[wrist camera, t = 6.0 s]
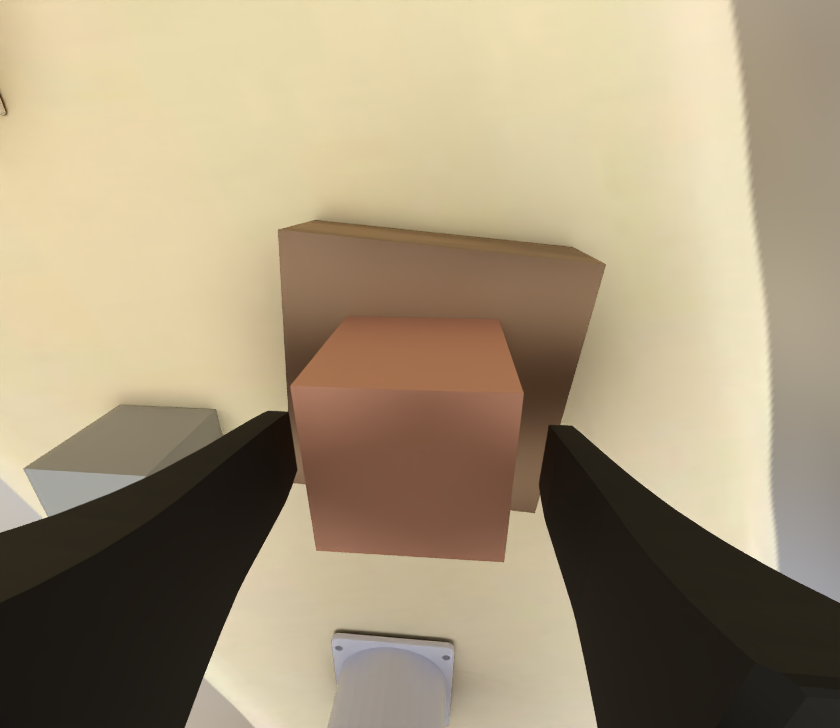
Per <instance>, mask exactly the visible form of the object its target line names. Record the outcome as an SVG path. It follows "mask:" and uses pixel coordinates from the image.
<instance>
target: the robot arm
mask: <svg viewBox="0 0 840 728" xmlns="http://www.w3.org/2000/svg"><path fill="white" fill-rule="evenodd" d="M297 470H298V469H297V463H296V456H295V449H294V443H293V436H292V429H291V423H290V416H289V412H281V411H267V412H265V413H262V414H260V415H258V416H257V417H255V418H253V419H251V420H249V421H248V422H246V423H244V424H243V425H241V426H239V427H237V428H236V429H234V430H232V431H231V432H229V433H227V434H225V435H224V436H222V437H220V438H219V439H217V440H215V441H213V442H212V443H210V444H208V445H207V446H205V447H203V448H201V449H199V450H197V451H196V452H194V453H192V454H190V455H188V456H186V457H184V458H183V459H181V460H179V461H177V462H175V463H173V464H171V465H170V466H168V467H166V468H164V469H162V470H160V471H158V472H156V473H154V474H152V475H150V476H148V477H145V478H143V479H141V480H139V481H137V482H135V483H132V484H130V485H128V486H126V487H123V488H121V489H119V490H117V491H114V492H112V493H110V494H107V495H105V496H102V497H99V498H97V499H94V500H92V501H89V502H87V503H84V504H81V505H79V506H76V507H74V508H71V509H68V510H66V511H63V512H61V513H58V514H55V515H52V516H50V517H47V518H44V519H41V520H38V521H35V522H32V523H29V524H26V525H23V526H20V527H17V528H14V529H11V530H8V531H5V532H1V533H0V728H185V725H186V722H187V720H188V717H189V714H190V711H191V708H192V706H193V703H194V701H195V698H196V695H197V692H198V690H199V687H200V684H201V682H202V679H203V676H204V674H205V671H206V669H207V666H208V664H209V661H210V659H211V656H212V654H213V651H214V649H215V646H216V644H217V641H218V638H219V636H220V633H221V631H222V629H223V626H224V624H225V622H226V619H227V617H228V614H229V612H230V610H231V607H232V605H233V603H234V600H235V598H236V596H237V593H238V591H239V589H240V587H241V585H242V583H243V581H244V579H245V577H246V575H247V573H248V571H249V569H250V568H251V566H252V564H253V562H254V560H255V558H256V557H257V555H258V553H259V551H260V549H261V547H262V545H263V544H264V542H265V540H266V538H267V536H268V534H269V533H270V531H271V529H272V527H273V525H274V523H275V521H276V520H277V518H278V516H279V514H280V512H281V510H282V508H283V506H284V504H285V502H286V500H287V497H288V495H289V492H290V490H291V487H292V484H293V482H294V479H295V476H296V473H297ZM539 490H540V496H541V502H542V507H543V513H544V518H545V521H546V525H547V528H548V531H549V535H550V538H551V541H552V544H553V548H554V551H555V554H556V557H557V560H558V563H559V566H560V570H561V573H562V576H563V579H564V582H565V585H566V588H567V592H568V595H569V598H570V601H571V605H572V608H573V612H574V616H575V619H576V624H577V628H578V633H579V638H580V642H581V647H582V651H583V656H584V661H585V665H586V670H587V676H588V681H589V686H590V691H591V696H592V701H593V706H594V711H595V716H596V721H597V727H598V728H840V603H839V602H837V601H835V600H832V599H831V598H828V597H827V596H825V595H823V594H820V593H819V592H816V591H815V590H813V589H811V588H809V587H806V586H805V585H803V584H800V583H798V582H797V581H795V580H792V579H791V578H789V577H787V576H785V575H783V574H781V573H780V572H778V571H776V570H774V569H772V568H770V567H768V566H766V565H765V564H763V563H761V562H759V561H758V560H756V559H754V558H752V557H751V556H749V555H747V554H745V553H744V552H742V551H740V550H738V549H737V548H735V547H733V546H731V545H730V544H728V543H726V542H725V541H723V540H721V539H720V538H718V537H717V536H715V535H713V534H712V533H710V532H708V531H707V530H705V529H704V528H702V527H701V526H699V525H698V524H696V523H695V522H693V521H692V520H690V519H689V518H687V517H686V516H684V515H683V514H681V513H680V512H678V511H677V510H675V509H674V508H672V507H671V506H670V505H668V504H667V503H665V502H664V501H663V500H661V499H660V498H659V497H657V496H656V495H655V494H653V493H652V492H651V491H649V490H648V489H647V488H646V487H644V486H643V485H642V484H640V483H639V482H638V481H637V480H635V479H634V478H633V477H632V476H630V475H629V474H628V473H627V472H625V471H624V470H623V469H622V468H621V467H619V466H618V465H617V464H616V463H615V462H614V461H612V460H611V459H610V458H609V457H608V456H607V455H605V454H604V453H603V452H602V451H601V450H600V449H599V448H597V447H596V446H595V445H594V444H593V443H592V442H591V441H589V440H588V439H587V438H586V437H585V436H584V435H583V434H581V433H580V432H579V431H578V430H577V429H575V428H574V427H573V426H566V425H549V426H548V432H547V438H546V444H545V450H544V455H543V461H542V467H541V473H540V479H539ZM331 645H332V652H333V659H334V667H335V674H336V681H337V689H336V694H335V698H334V702H333V707H332V711H331V715H330V720H329V724H328V728H445V727H446V726H448V725H449V716H450V703H451V689H452V676H453V662H454V646H453V645H452V644H451V643H448V642H438V641H427V640H415V639H404V638H392V637H381V636H369V635H358V634H346V633H336V634H334V635H333V637H332V640H331Z"/></svg>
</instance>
